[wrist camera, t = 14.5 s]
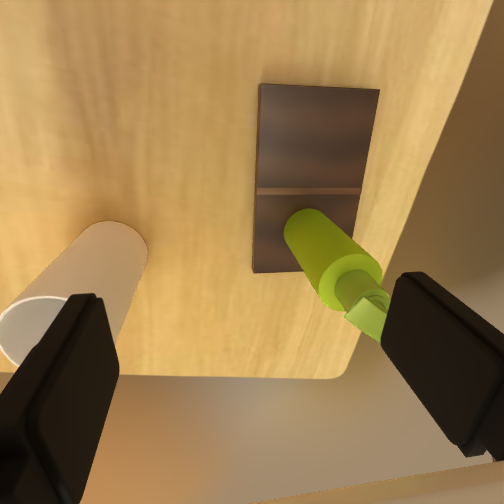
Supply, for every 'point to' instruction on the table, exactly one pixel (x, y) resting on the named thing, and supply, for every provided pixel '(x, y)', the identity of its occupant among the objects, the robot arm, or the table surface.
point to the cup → (77, 285)
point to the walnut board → (307, 162)
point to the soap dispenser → (339, 270)
